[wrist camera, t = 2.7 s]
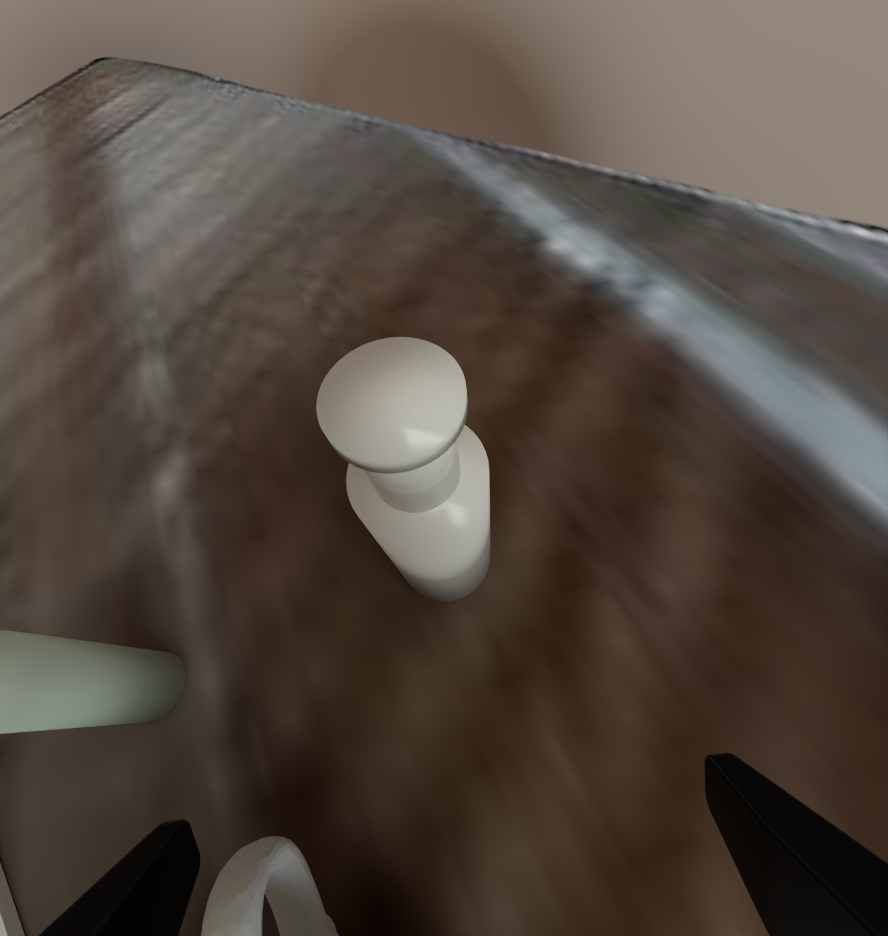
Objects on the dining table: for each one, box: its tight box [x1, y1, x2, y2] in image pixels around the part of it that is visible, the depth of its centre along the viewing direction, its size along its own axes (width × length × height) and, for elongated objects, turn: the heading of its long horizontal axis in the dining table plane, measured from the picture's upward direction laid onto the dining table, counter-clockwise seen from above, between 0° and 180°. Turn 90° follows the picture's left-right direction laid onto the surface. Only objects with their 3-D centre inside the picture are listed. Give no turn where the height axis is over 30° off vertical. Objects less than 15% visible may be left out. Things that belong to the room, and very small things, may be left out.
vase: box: [316, 337, 490, 601], centre depth 17 cm, size 5×5×14 cm
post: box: [0, 630, 186, 734], centre depth 17 cm, size 3×3×8 cm
